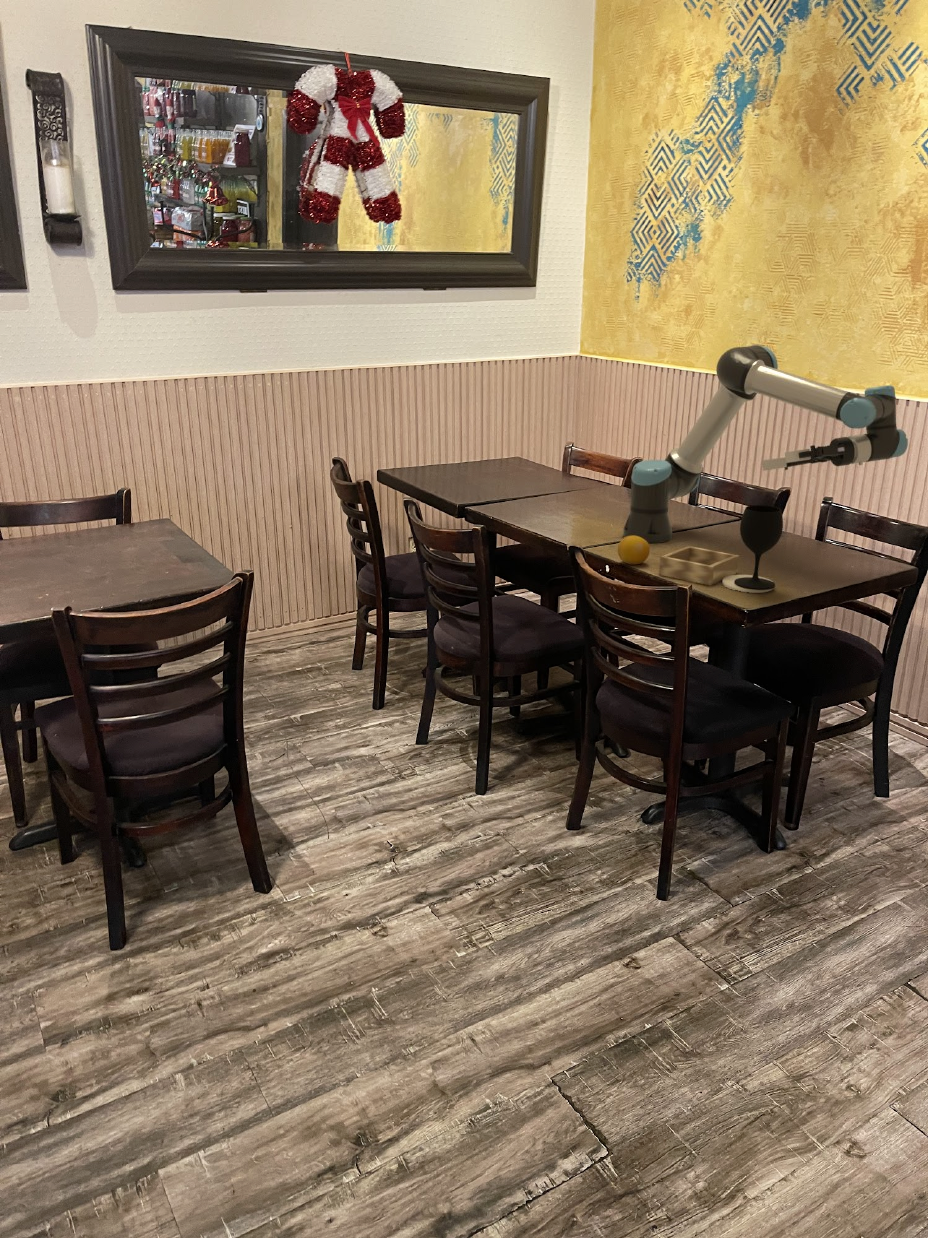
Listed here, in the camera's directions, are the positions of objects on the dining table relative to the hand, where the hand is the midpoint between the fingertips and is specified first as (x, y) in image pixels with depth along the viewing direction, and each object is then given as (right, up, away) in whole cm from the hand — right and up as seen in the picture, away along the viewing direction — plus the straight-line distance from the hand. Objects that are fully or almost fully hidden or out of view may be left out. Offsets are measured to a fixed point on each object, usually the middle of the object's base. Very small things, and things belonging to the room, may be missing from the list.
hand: (774, 461), depth 253 cm
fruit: (-35, -26, +17) cm, 47 cm away
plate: (-8, -33, -3) cm, 34 cm away
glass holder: (-18, -29, +7) cm, 36 cm away
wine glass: (-7, -33, -6) cm, 34 cm away
